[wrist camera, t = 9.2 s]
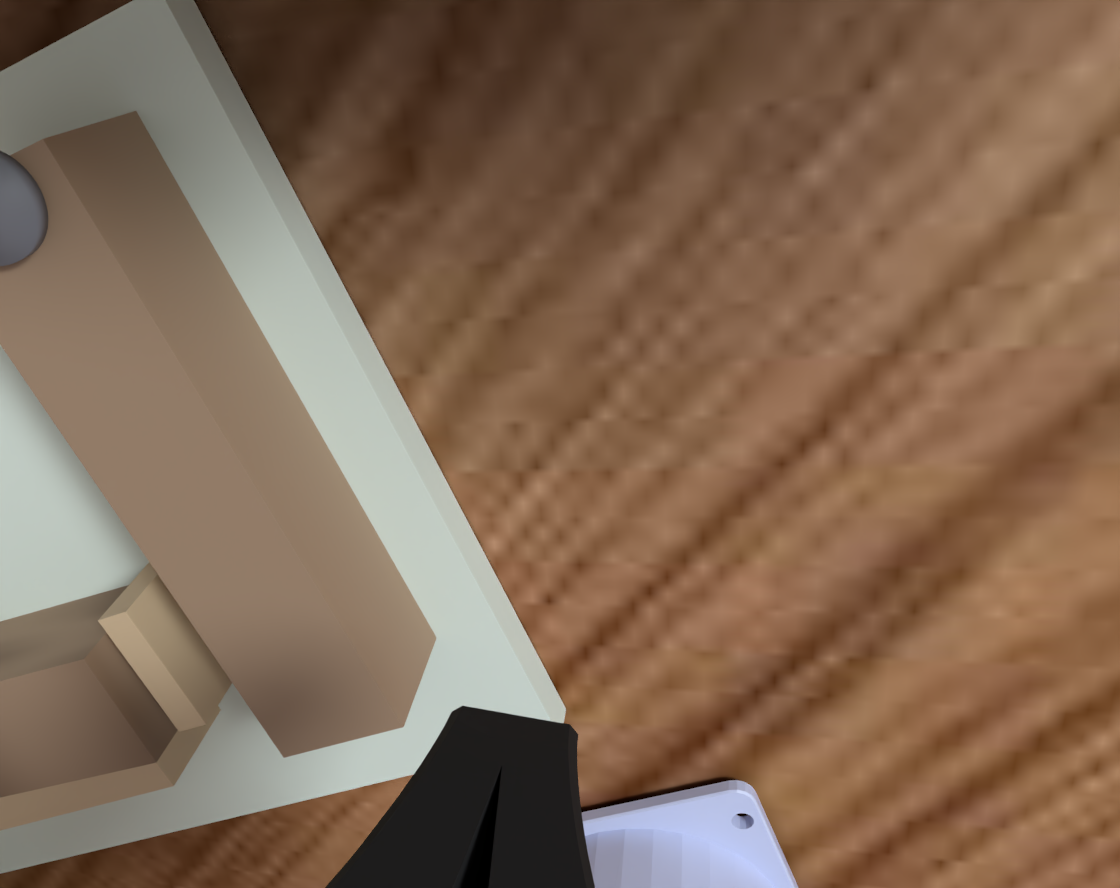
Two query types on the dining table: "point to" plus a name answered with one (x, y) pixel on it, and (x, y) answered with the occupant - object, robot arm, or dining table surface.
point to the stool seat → (216, 454)
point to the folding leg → (71, 700)
